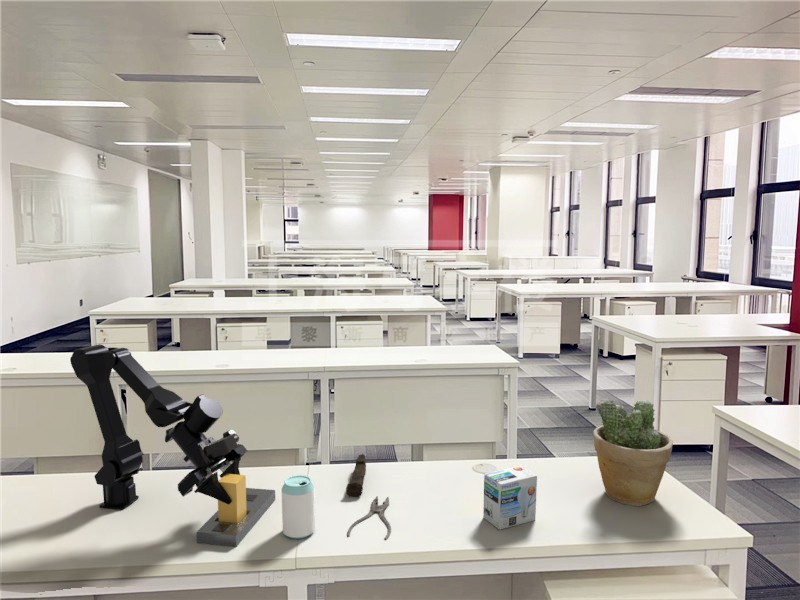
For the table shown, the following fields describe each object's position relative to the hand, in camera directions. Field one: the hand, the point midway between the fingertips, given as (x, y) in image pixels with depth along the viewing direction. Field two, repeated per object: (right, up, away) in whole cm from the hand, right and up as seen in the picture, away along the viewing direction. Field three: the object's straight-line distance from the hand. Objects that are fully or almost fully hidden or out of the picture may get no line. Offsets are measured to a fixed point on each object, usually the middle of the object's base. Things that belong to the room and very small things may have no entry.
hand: (237, 497), depth 133 cm
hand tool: (+25, -4, +25) cm, 36 cm away
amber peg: (-1, -7, +1) cm, 7 cm away
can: (+14, -7, -1) cm, 16 cm away
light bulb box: (+62, -7, +5) cm, 62 cm away
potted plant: (+94, -5, +16) cm, 96 cm away
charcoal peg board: (-1, -6, +4) cm, 8 cm away
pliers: (+29, -7, +5) cm, 30 cm away
